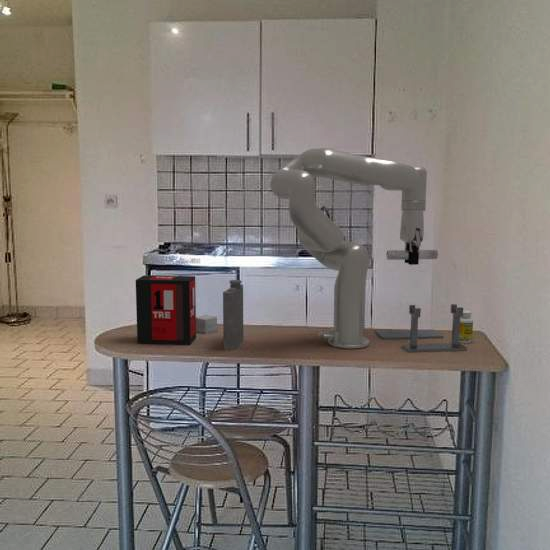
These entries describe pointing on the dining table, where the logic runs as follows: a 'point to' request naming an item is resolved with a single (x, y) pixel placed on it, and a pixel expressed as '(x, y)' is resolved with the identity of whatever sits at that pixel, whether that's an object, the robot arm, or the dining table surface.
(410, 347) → the hook stand
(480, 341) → the dining table surface
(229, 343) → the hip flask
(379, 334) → the slate mat
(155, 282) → the cleaning product box
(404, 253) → the grey metallic bar
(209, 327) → the small box
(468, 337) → the supplement bottle
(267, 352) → the dining table surface
